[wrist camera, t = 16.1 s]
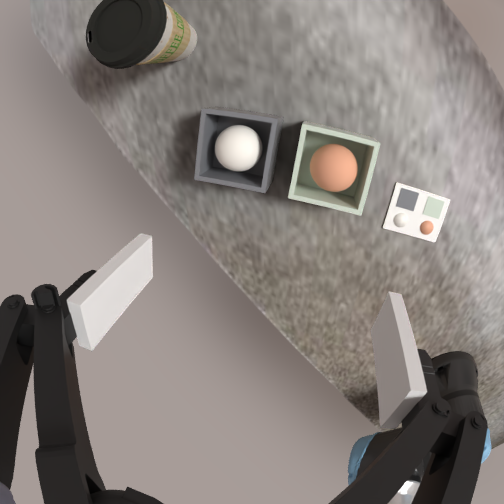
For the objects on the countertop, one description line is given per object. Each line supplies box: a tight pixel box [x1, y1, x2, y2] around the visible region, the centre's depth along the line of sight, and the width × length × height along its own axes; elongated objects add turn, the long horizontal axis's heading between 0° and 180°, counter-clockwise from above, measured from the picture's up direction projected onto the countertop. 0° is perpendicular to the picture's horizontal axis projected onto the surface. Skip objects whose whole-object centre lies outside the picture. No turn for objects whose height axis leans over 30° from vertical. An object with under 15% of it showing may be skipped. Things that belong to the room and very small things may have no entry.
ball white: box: [215, 125, 263, 171], centre depth 38 cm, size 6×6×6 cm
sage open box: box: [288, 121, 380, 216], centre depth 37 cm, size 9×9×6 cm
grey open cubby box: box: [194, 107, 284, 193], centre depth 39 cm, size 9×9×6 cm
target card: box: [383, 182, 450, 242], centre depth 40 cm, size 7×9×1 cm
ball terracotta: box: [310, 144, 358, 192], centre depth 37 cm, size 6×6×6 cm
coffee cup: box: [86, 0, 197, 69], centre depth 29 cm, size 10×10×15 cm
